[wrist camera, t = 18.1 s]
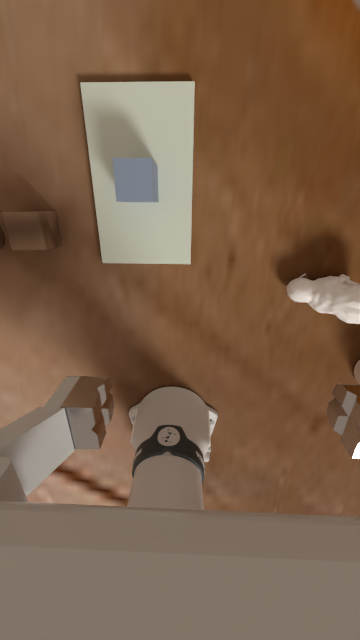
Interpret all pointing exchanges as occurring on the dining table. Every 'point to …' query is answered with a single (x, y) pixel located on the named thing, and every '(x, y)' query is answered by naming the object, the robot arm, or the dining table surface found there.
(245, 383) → the dining table surface
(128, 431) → the dining table surface
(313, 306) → the white figurine
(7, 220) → the walnut block
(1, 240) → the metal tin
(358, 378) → the teacup with lid
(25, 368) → the dining table surface
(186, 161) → the sage board
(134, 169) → the slate blue block
